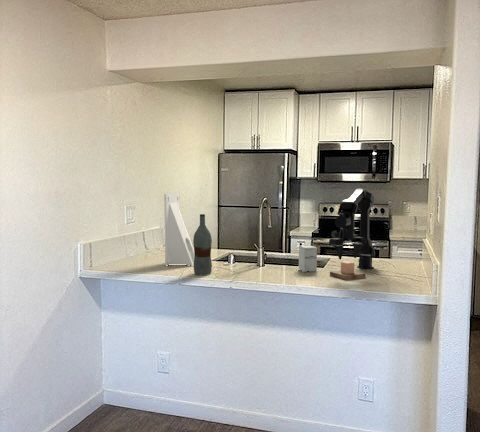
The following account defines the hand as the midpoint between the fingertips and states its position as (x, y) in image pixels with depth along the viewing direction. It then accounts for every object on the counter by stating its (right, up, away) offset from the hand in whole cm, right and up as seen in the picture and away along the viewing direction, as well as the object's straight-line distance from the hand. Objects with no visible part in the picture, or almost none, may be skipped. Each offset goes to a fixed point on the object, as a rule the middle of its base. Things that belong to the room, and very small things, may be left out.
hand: (347, 258), depth 225 cm
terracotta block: (0, -7, +1) cm, 7 cm away
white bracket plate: (-84, -7, +36) cm, 91 cm away
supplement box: (-17, -8, +17) cm, 25 cm away
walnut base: (0, -9, +1) cm, 9 cm away
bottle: (-71, -9, +8) cm, 72 cm away
